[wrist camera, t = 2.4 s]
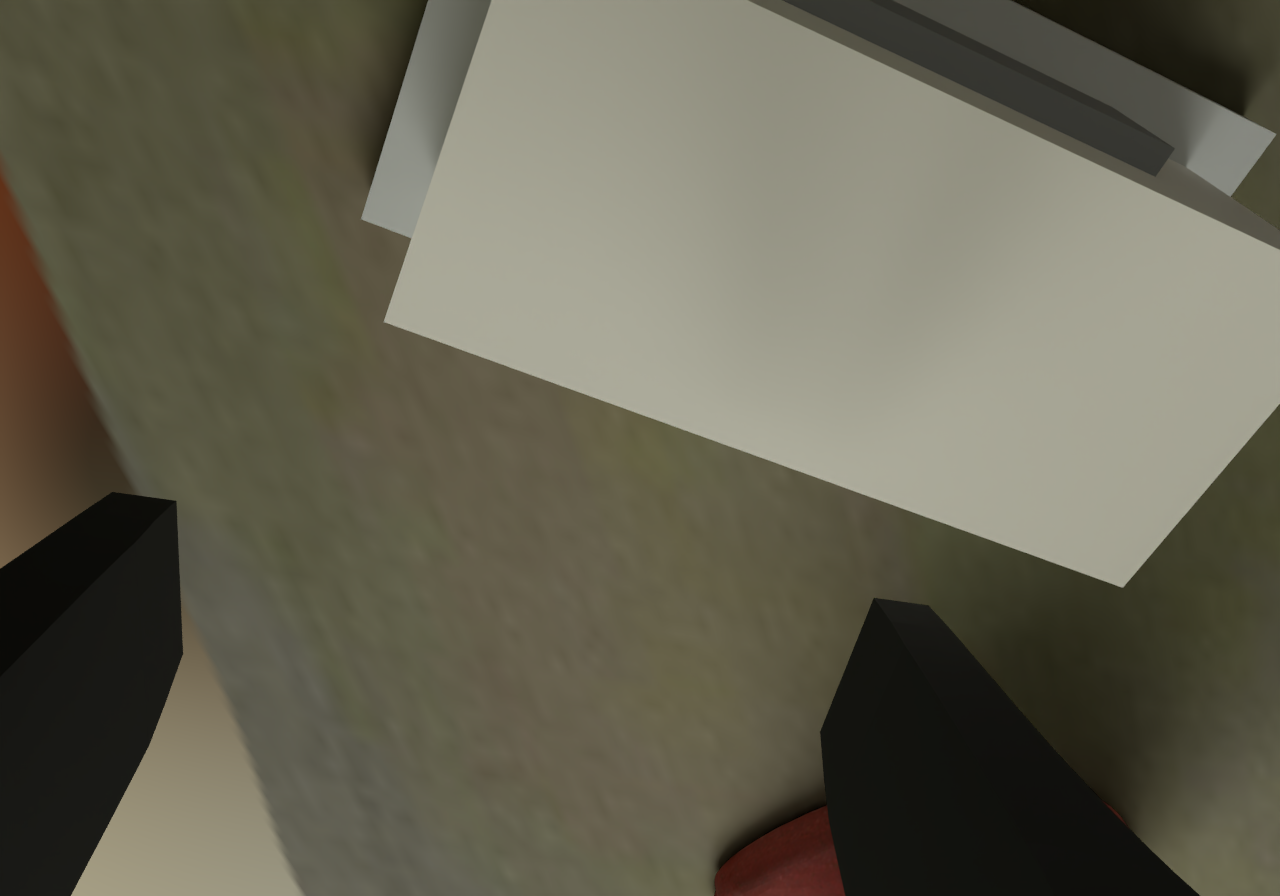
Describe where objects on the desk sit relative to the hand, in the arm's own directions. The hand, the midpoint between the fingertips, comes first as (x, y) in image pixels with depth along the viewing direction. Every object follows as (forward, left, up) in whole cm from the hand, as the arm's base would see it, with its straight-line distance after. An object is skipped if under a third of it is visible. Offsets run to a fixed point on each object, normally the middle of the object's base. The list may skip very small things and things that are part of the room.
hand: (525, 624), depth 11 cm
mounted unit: (-3, -4, -9) cm, 10 cm away
